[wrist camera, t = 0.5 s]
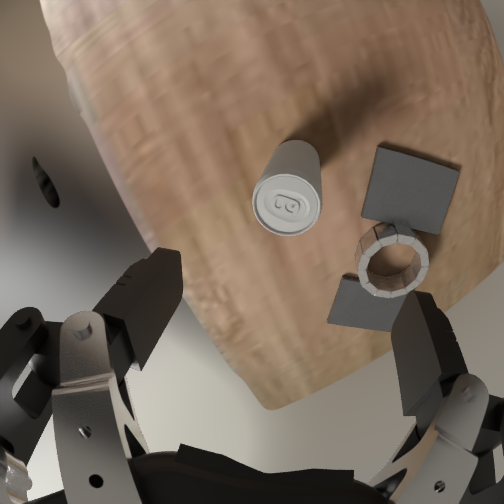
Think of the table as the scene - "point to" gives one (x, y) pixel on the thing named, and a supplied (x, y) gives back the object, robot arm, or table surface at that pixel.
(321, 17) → the table surface
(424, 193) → the hinge model
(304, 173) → the beverage can
